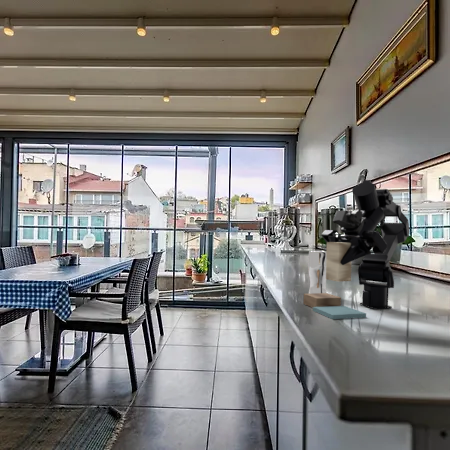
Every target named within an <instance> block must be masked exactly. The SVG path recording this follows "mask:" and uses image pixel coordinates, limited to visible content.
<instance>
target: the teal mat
mask: <svg viewBox="0 0 450 450" xmlns="http://www.w3.org/2000/svg"><path fill="white" fill-rule="evenodd" d="M312 311H313V312H316V313H318V314H320V315H322V316H325V317H327V318H328V319H331V320H339V319H340V320H343V319H359V318H360V319H361V318H367V313H365V312H363V311H360V310H357V309H354V308H352V307H348V306H346V305H341V306H326V307H313V308H312Z"/></svg>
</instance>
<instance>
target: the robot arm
mask: <svg viewBox="0 0 450 450" xmlns="http://www.w3.org/2000/svg"><path fill="white" fill-rule="evenodd" d="M351 192H352V194H353V199H354V201H355V204H356V207H357V209H354V210H353V211H352V210H336V212H335V214H334V216H333V218H332V223H333V224H336V225H338V226H340V227H341V228H340V230H339V231H341V232H342V233H344V234H341V233H339V232H338V230H336V229H325V230H324V231H323V232H322V233H321V235H320V236H321V238H322V239H323V240H324V242H325V243H326V244H327V242H343V243H351V246H350V247H349V249H348V250H347V252H346V253H345V255H344V256H343V258H342V260H341V262H340V263H341V264H342V265H345V264H347V263H349V262H351V263H352V262H353V261H355V260H357V259H361V258H362V259H361V263H360V264H359V265H358V269H357V272H358V285H360V286H363V289H362V298H361V299H362V302H359V305H361V306H363V307H367V308H370V309H373V310H377V309H379V310H382V309H393V306H392V305H389V289H394V288H395V278H394V272H393V271H392V268H391V266H390V265H391V264H390V261H391V259H392V256H393V254H394V252H395V251H396V248H397V246H398V245H399V244H402V243H405V241H407V238H408V237H409V236H410V224H409V223H410V222H409V218H408V217H407V216H406V215H405V214H404V213H403V212H402V207H401V205H398V204H396V202H395V201H394V196H393V195H392V192H390V190H389V189H387V188H383V189H382V188H381V189H380V188H379V189H376V186H375V184H374V183H373V182H372V181H371V179H366V180H365V179H364V180H362V182H361V183H359V184H356V185H355V186H354V187H352V190H351ZM387 217H389V218H390V217H391V218H392V217H393V218H394V217H395V218H396V217H397V219H398V220H399V222H385V219H386V218H387ZM378 225H379V229H380V232H379V231H378V230H375V229H376V228H377V226H378ZM371 250H372V251H373V253H372V252H371Z"/></svg>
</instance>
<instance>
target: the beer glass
mask: <svg viewBox="0 0 450 450" xmlns="http://www.w3.org/2000/svg"><path fill="white" fill-rule="evenodd" d="M326 254H327V250H309V251H308V259H307V268H308V271H307V272H308V277H309V290H308V294H312V293H327V287H326V286H327V279H326Z"/></svg>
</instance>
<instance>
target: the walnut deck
mask: <svg viewBox="0 0 450 450" xmlns="http://www.w3.org/2000/svg"><path fill="white" fill-rule="evenodd" d="M302 304H303V305H306V306H308V307H310V308H312V309H313V307H326V306H342V297H340V296H336V295H335V294H332V293H331V294H330V293H327V292H326V293H312V294H309V293H303V303H302Z"/></svg>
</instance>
